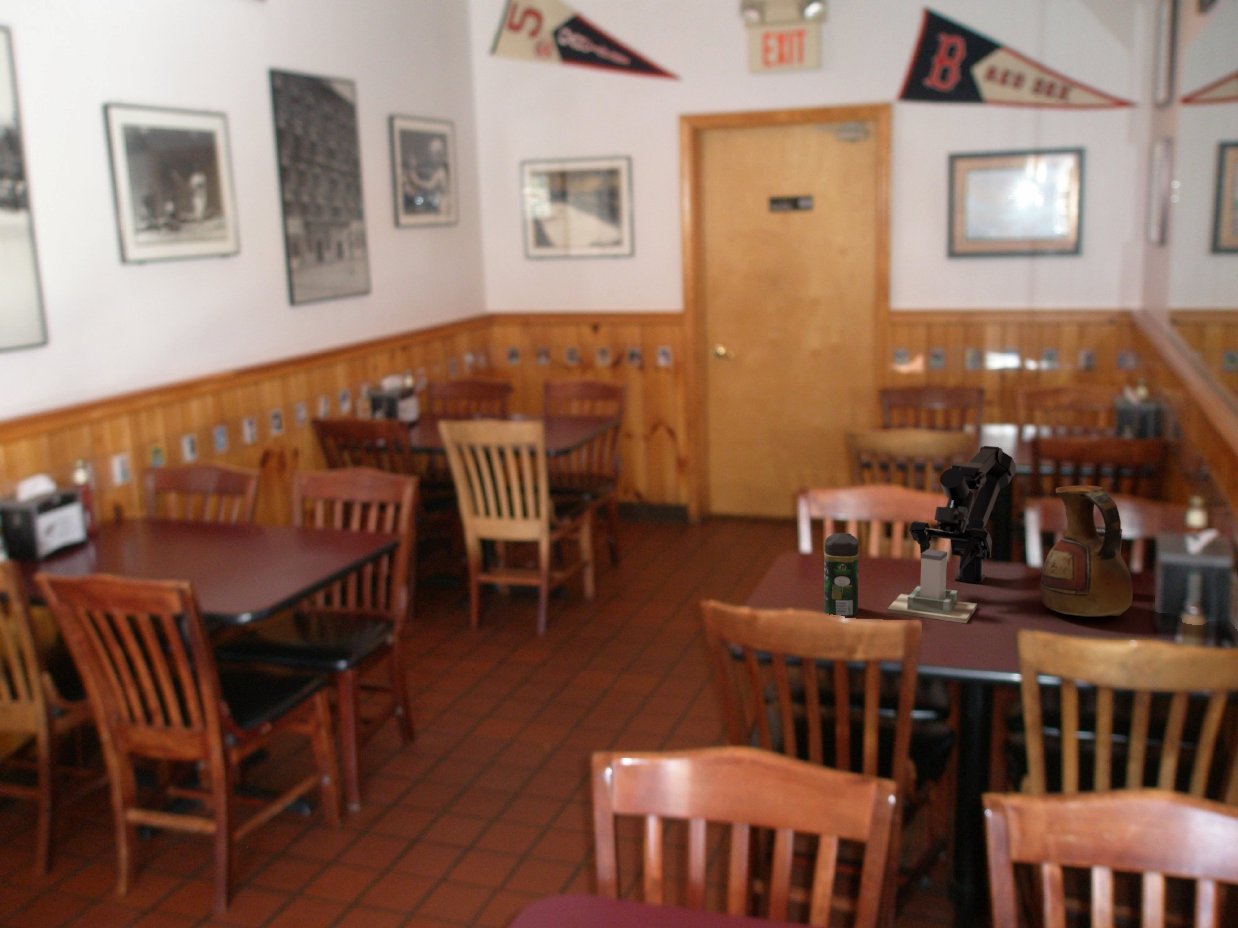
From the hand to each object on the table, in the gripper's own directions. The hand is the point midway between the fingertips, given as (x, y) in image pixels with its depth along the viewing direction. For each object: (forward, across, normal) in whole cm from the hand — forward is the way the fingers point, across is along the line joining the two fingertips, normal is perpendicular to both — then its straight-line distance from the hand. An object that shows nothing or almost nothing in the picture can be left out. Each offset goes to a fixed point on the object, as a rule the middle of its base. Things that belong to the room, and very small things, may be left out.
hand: (941, 566), depth 270 cm
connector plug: (+10, 0, +2) cm, 10 cm away
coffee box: (-12, +30, +26) cm, 41 cm away
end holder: (+10, 0, +3) cm, 11 cm away
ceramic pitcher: (0, +31, +14) cm, 34 cm away
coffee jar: (+19, -18, -6) cm, 27 cm away
